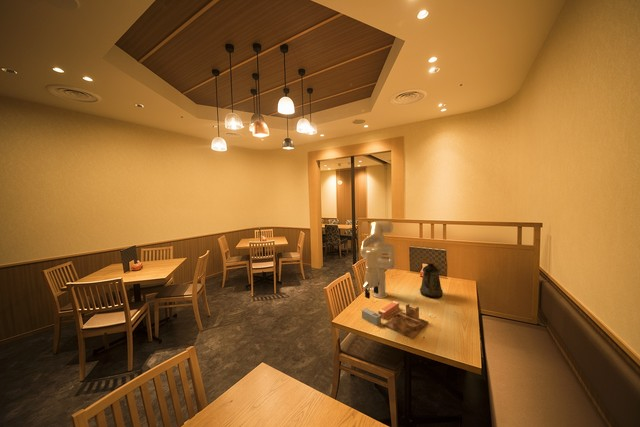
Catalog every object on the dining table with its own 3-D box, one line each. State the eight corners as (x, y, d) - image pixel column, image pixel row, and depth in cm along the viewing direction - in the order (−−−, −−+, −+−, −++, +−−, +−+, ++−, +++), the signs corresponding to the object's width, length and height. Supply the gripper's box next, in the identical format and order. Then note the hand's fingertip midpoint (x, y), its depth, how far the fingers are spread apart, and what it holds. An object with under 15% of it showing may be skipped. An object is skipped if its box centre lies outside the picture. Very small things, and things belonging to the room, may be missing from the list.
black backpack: (440, 291, 183) (441, 262, 181) (445, 302, 165) (445, 269, 163) (419, 289, 189) (419, 260, 187) (421, 299, 170) (421, 267, 169)
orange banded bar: (378, 317, 146) (378, 310, 146) (393, 307, 160) (393, 300, 159) (383, 319, 143) (383, 312, 143) (399, 308, 157) (398, 302, 156)
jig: (383, 326, 135) (383, 312, 135) (400, 313, 150) (400, 300, 150) (412, 339, 122) (412, 323, 122) (428, 323, 137) (428, 309, 137)
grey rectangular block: (361, 318, 145) (361, 309, 145) (366, 315, 148) (366, 307, 148) (376, 326, 136) (376, 317, 136) (381, 323, 139) (381, 314, 138)
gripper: (374, 265, 149) (374, 289, 150) (358, 271, 137) (358, 298, 138) (384, 267, 143) (384, 293, 144) (368, 273, 131) (369, 301, 132)
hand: (371, 295), depth 141 cm, fingers open, 9 cm apart
